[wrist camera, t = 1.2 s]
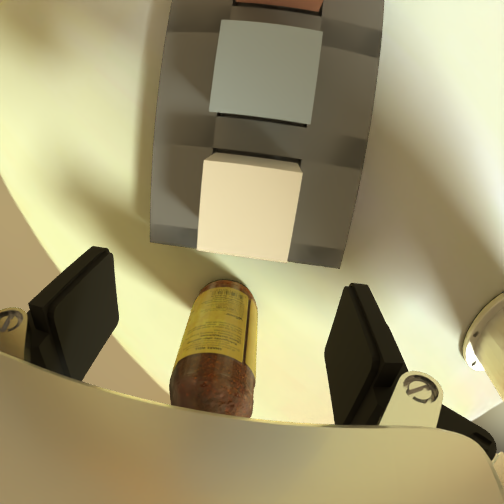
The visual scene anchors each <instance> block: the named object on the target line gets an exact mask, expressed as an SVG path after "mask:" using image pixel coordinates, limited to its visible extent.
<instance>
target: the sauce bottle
mask: <svg viewBox="0 0 504 504" xmlns="http://www.w3.org/2000/svg"><path fill="white" fill-rule="evenodd" d="M257 320H258V313H257V306H256V302H255V300H254V297H253V295H252V294H251V292H250V291H249V289H248V288H246V287H245V286H244V285H242V284H239V283H237V282H233V281H230V280H217V281H215V282H212V283H209V284H208V285H206V286H205V287H204V288H203V289H202V290H201V291H200V293H199V296H198V297H197V299H196V300H195V302H194V304H193V307H192V310H191V313H190V316H189V319H188V323H187V326H186V329H185V332H184V335H183V338H182V342H181V345H180V348H179V351H178V355H177V358H176V361H175V364H174V367H173V371H172V375H171V378H170V384H169V390H170V400H171V405H173V406H178V407H183V408H188V409H194V410H199V411H205V412H211V413H217V414H224V415H230V416H238V417H245V418H250V417H251V415H252V411H253V402H254V401H253V392H254V387H255V378H256V350H257Z"/></svg>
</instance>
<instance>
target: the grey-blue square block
mask: <svg viewBox="0 0 504 504" xmlns="http://www.w3.org/2000/svg"><path fill="white" fill-rule="evenodd" d="M322 36H323V32H322V31H317V30H311V29H306V28H300V27H293V26H286V25H279V24H271V23H261V22H251V21H238V20H221V26H220V33H219V39H218V46H217V53H216V60H215V67H214V74H213V82H212V90H211V98H210V106H209V112H219V113H229V114H239V115H248V116H256V117H264V118H272V119H279V120H285V121H292V122H298V123H304V124H311V117H312V110H313V103H314V96H315V89H316V82H317V75H318V67H319V60H320V52H321V44H322Z"/></svg>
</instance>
